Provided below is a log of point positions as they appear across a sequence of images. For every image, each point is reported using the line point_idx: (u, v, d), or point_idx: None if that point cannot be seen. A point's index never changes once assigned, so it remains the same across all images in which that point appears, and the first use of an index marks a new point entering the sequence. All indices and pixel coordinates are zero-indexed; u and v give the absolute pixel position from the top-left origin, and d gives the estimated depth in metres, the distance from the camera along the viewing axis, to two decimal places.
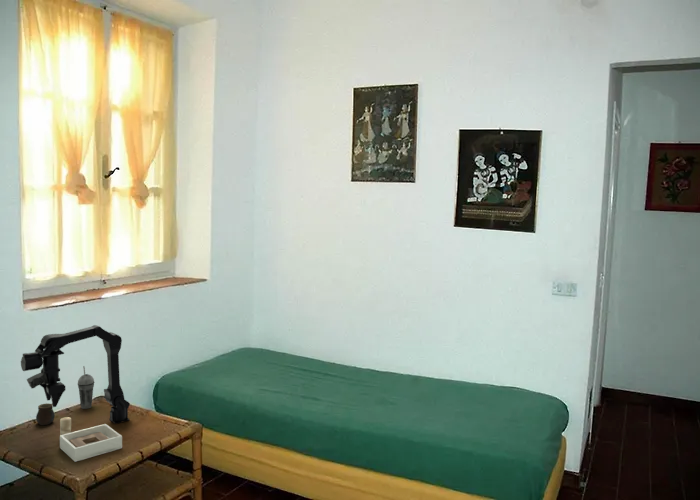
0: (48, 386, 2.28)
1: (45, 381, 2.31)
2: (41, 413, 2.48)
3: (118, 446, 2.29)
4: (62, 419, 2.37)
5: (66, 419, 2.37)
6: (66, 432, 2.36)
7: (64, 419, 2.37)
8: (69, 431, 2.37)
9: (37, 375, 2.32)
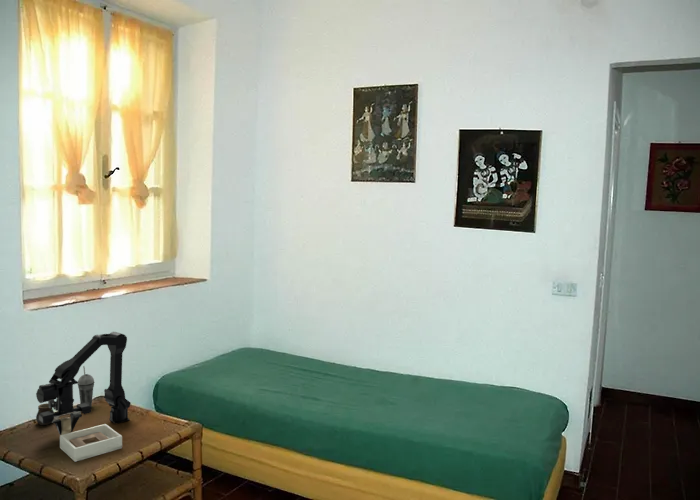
0: None
1: (55, 407, 2.37)
2: None
3: (118, 446, 2.29)
4: (62, 419, 2.37)
5: (66, 419, 2.37)
6: (66, 432, 2.36)
7: (64, 419, 2.37)
8: (69, 431, 2.37)
9: None
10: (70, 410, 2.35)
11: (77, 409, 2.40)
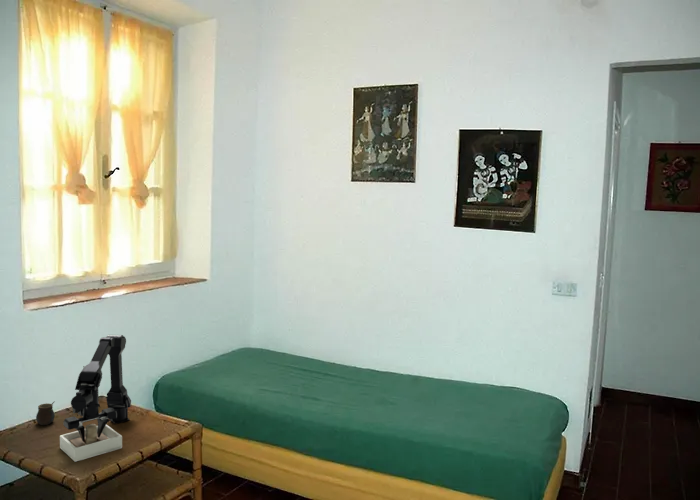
0: None
1: (80, 413, 2.28)
2: (41, 413, 2.48)
3: (118, 446, 2.29)
4: (87, 426, 2.28)
5: (91, 426, 2.28)
6: (92, 439, 2.27)
7: (90, 426, 2.28)
8: (95, 438, 2.28)
9: None
10: (96, 415, 2.27)
11: (102, 414, 2.31)
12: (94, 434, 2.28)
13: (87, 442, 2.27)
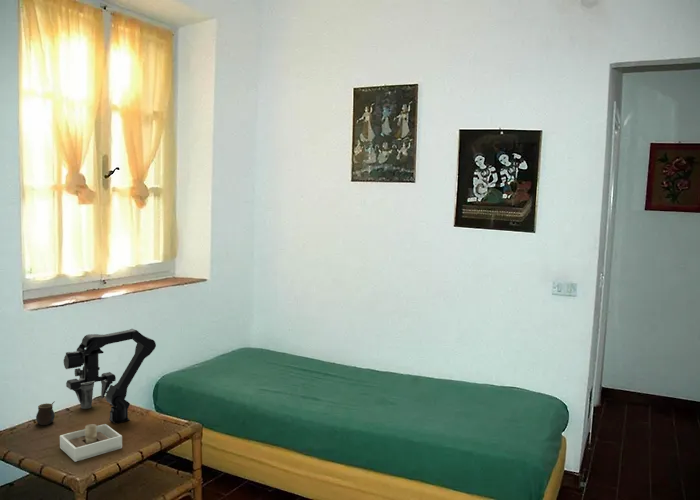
0: None
1: (81, 375, 2.47)
2: (41, 413, 2.48)
3: (118, 446, 2.29)
4: (87, 426, 2.28)
5: (91, 426, 2.28)
6: (91, 439, 2.27)
7: (89, 426, 2.28)
8: (94, 438, 2.28)
9: None
10: (96, 378, 2.46)
11: (102, 377, 2.50)
12: (94, 434, 2.28)
13: (87, 442, 2.27)
